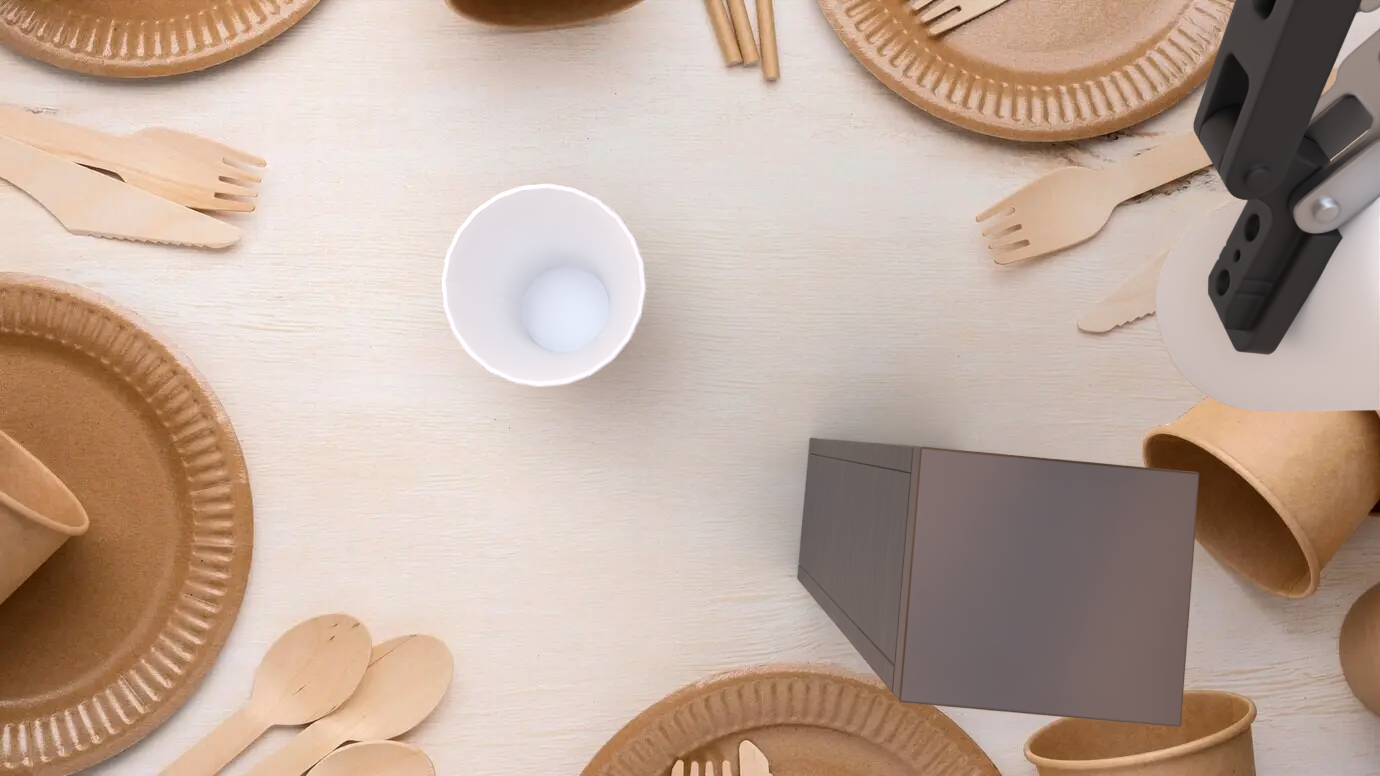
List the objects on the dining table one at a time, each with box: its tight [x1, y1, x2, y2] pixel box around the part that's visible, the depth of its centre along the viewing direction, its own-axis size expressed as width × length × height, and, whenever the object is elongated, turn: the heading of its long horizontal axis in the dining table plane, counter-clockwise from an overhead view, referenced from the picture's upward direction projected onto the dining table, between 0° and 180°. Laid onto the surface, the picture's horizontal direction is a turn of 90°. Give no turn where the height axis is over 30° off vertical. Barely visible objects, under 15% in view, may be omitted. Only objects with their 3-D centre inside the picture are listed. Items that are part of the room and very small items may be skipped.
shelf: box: [892, 445, 1200, 728], centre depth 38 cm, size 10×9×1 cm
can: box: [1154, 197, 1380, 412], centre depth 27 cm, size 6×6×12 cm
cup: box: [440, 182, 648, 388], centre depth 60 cm, size 10×10×14 cm
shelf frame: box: [797, 437, 916, 694], centre depth 53 cm, size 10×9×29 cm
